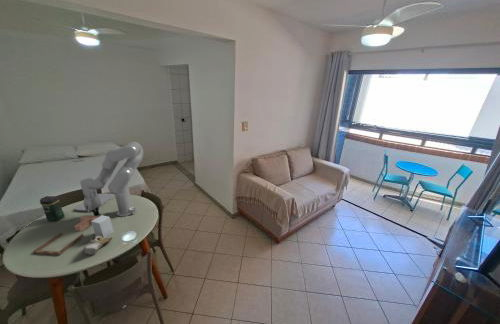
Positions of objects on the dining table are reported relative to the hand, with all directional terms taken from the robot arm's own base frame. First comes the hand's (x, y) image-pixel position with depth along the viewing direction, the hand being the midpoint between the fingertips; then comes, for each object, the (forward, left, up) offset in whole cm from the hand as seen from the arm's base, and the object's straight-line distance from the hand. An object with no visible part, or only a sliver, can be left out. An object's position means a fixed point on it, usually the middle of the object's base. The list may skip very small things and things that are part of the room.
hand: (96, 215), depth 147 cm
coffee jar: (+28, +5, -1) cm, 28 cm away
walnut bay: (0, +28, -1) cm, 28 cm away
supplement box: (-21, +18, -1) cm, 28 cm away
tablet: (+16, -18, -2) cm, 24 cm away
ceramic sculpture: (-26, +30, -2) cm, 39 cm away
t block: (0, +9, -1) cm, 9 cm away
